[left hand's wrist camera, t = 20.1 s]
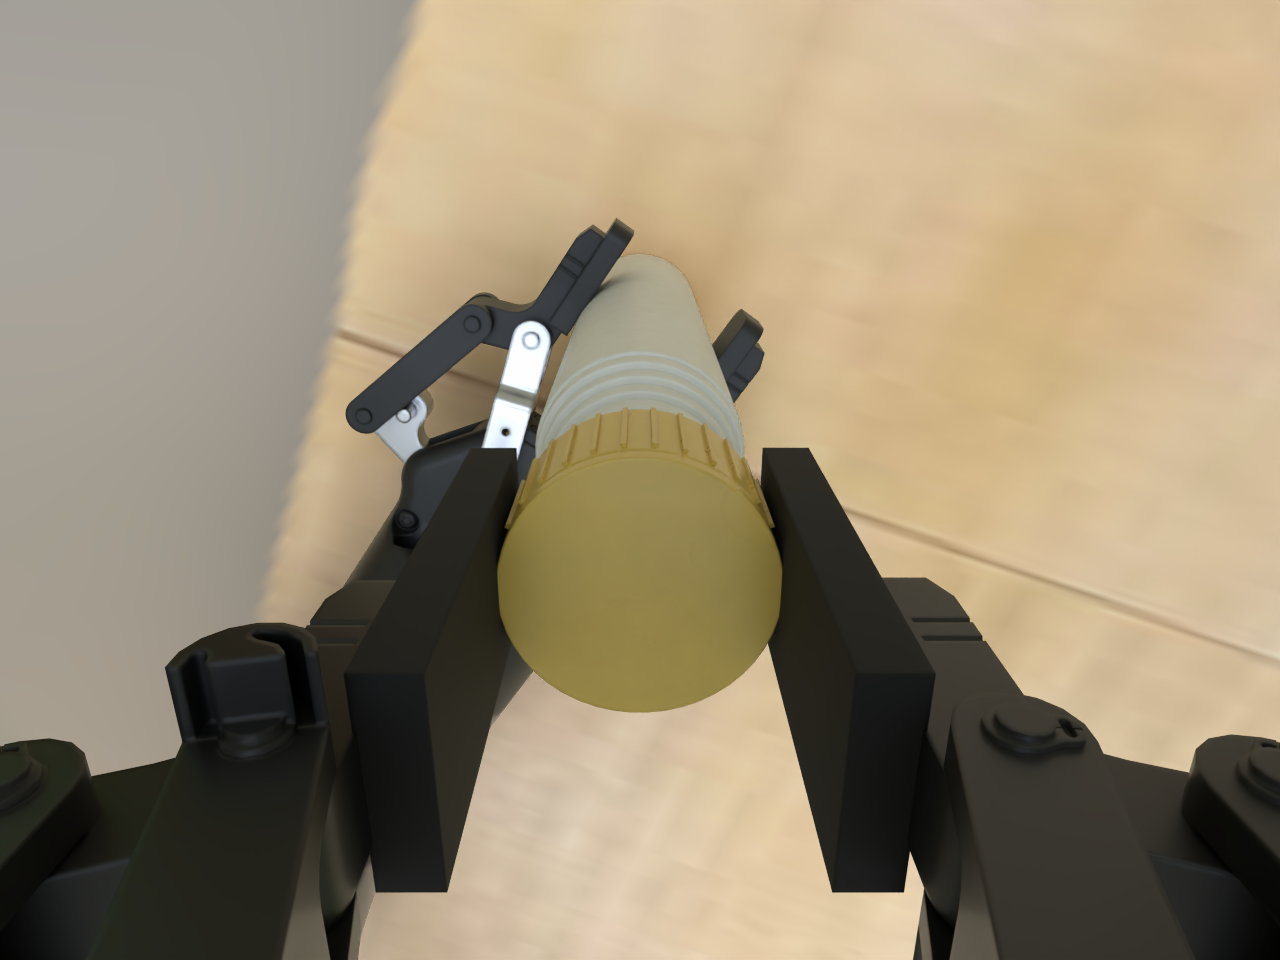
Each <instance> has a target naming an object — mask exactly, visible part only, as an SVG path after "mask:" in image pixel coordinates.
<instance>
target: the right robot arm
mask: <svg viewBox="0 0 1280 960" xmlns="http://www.w3.org/2000/svg"><path fill="white" fill-rule="evenodd" d="M633 235H634V230H632V229H631V228H629V227H628V226H627V225H625V224H624V223H623V222H621V221H620V220H618V219H617V218H616V219H615V221H614V222H613V224H612V225H611V227H610V228H609V230H608V231H607V233H606V234H605V233H604V232H603V231H601V230H600V229H598V228H597V227H596V226H594V225H592V226H590V227H589V228H587V229H586V230H585V231H583V232H582V233H580V234H579V235H578V237H577V238H576V239H575V241H574V243H573V244H572V246H571V247H570V249H569V250H568V252H567V253H566V255H565V257H564V258H563V260H562V261H561V263H560V264H559V266H558V267H557V269H556V270H555V272H554V274H553V275H552V277H551V278H550V280H549V281H548V283H547V284H546V286H545V287H544V289H543V291H542V292H541V294H540V295H539V297H538V298H537V299H536V300H534V301H533V302H531V303H529V304H524V305H518V304H513V303H509V302H505V301H502V300H499V299H498V298H497V297H496V296H494V295H492V294H490V293H479V294H476V295H475V296H473V297H472V298H471V299H470V300H469V301H468V302H466V303H465V304H464V305H463V306H462V307H461V308H459V309H458V310H457V311H456V312H455V313H454V314H452V315H451V316H450V317H449V318H448V319H447V320H445V321H444V322H443V323H442V324H441V325H440V326H438V327H437V328H436V329H435V330H434V331H433V332H431V333H430V334H429V335H428V336H427V337H426V338H424V339H423V340H422V341H421V342H420V343H419V344H418V345H416V346H415V347H414V348H413V349H412V350H411V351H409V352H408V353H407V354H406V355H405V356H404V357H402V358H401V359H400V360H399V361H398V362H397V363H395V364H394V365H393V366H392V367H391V368H390V369H388V370H387V371H386V372H385V373H384V374H383V375H381V376H380V377H379V378H378V379H377V380H376V381H374V382H373V383H372V384H371V385H370V386H369V387H368V388H366V389H365V390H364V391H363V392H362V393H361V394H359V395H358V396H357V397H356V398H355V399H354V400H353V401H351V402H350V403H349V405H348V406H347V409H346V419H347V421H348V423H349V425H350V426H351V427H352V428H353V429H354V430H356V431H358V432H360V433H366V434H367V433H373V432H375V433H376V434H377V435H378V436H379V438H380V439H381V440H382V441H383V442H384V443H385V444H386V445H387V446H388V447H389V448H390V449H391V450H392V451H393V452H394V453H395V454H396V455H397V456H398V457H399V458H400V459H401V460H402V461H403V463H404V467H403V470H402V477H401V479H402V489H401V495H400V498H399V501H398V503H397V504H396V506H395V507H394V509H393V510H392V512H391V514H390V515H389V517H388V518H387V520H386V521H385V523H384V524H383V526H382V528H381V529H380V531H379V532H378V534H377V535H376V537H375V538H374V540H373V542H372V543H371V545H370V546H369V548H368V549H367V551H366V552H365V554H364V556H363V557H362V559H361V560H360V562H359V563H358V565H357V566H356V568H355V570H354V571H353V573H352V574H351V576H350V577H349V579H348V580H347V582H346V583H345V585H344V587H345V586H346V585H348V584H349V583H351V582H352V581H354V580H397V578H398V576H399V574H400V573H401V571H402V569H403V567H404V566H405V564H406V562H407V560H408V559H409V557H410V555H411V553H412V551H413V550H414V548H415V546H416V544H417V543H418V541H419V539H420V537H421V536H422V534H423V532H424V530H425V528H426V527H427V525H428V523H429V521H430V520H431V518H432V516H433V514H434V513H435V511H436V509H437V507H438V505H439V504H440V502H441V500H442V498H443V497H444V495H445V493H446V491H447V490H448V488H449V486H450V484H451V482H452V481H453V479H454V477H455V475H456V474H457V472H458V470H459V468H460V467H461V465H462V463H463V461H464V459H465V458H466V456H467V454H468V452H469V451H470V449H471V448H517V464H518V482H519V486H520V483H521V480H525V481H526V478H527V475H528V472H529V469H530V466H531V463H532V461H533V459H534V458H536V451H535V444H536V435H537V430H538V426H539V422H540V418H541V415H539V414H538V413H536V412H535V409H536V405H537V402H538V398H539V395H540V391H541V387H542V384H543V380H544V375H545V371H546V368H547V364H548V361H549V357H550V354H551V350H552V346H553V344H554V343H555V341H556V340H557V338H558V337H559V335H560V334H561V333H563V334H564V335H566V336H567V335H568V333H569V332H570V330H571V329H572V327H573V326H574V324H575V323H576V321H577V320H578V318H579V316H580V315H581V313H582V311H583V310H584V309H585V307H586V306H587V305H588V303H589V302H590V300H591V299H592V297H593V296H594V294H595V293H596V291H597V290H598V288H599V287H600V285H601V284H602V282H603V281H604V279H605V278H606V276H607V275H608V273H609V272H610V270H611V269H612V267H613V266H614V264H615V263H616V261H617V260H618V258H619V257H620V255H621V254H622V252H623V251H624V249H625V248H626V246H627V245H628V243H629V242H630V240H631V239H632V237H633ZM762 333H763V327H762V326H761V324H760V323H759V321H757V320H756V319H755V318H753V317H752V316H750V315H749V314H748V313H746V312H745V311H744V310H742V309H741V310H739V311H738V312H737V313H736V314H735V315H734V316H733V318H732V319H731V320H730V322H729V323H728V324H727V326H726V327H725V328H724V330H723V331H722V333H721V334H720V335H719V337H718V338H717V339H716V341H715V342H714V343H713V345H712V346H713V349H714V352H715V355H716V357H717V360H718V363H719V365H720V368H721V371H722V373H723V376H724V379H725V382H726V384H727V387H728V390H729V392H730V395H731V398H732V400H733V403H734V402H735V401H736V400H737V398H738V397H739V396H740V394H741V393H742V392H743V390H744V389H745V388H746V387H747V385H748V383H749V382H750V381H751V380H752V379H753V377H754V376H755V375H756V373H757V372H758V371H759V370H760V367H761V363H762V360H763V356H764V351H763V350H762V348H761V347H760V345H759V344H758V343H757V342H758V340H759V339H760V337H761V335H762ZM480 343H484V344H488V345H492V346H496V347H500V348H504V349H508V350H509V351H508V355H507V359H506V362H505V366H504V370H503V374H502V378H501V381H500V385H499V388H498V390H497V393H496V396H495V399H494V403H493V407H492V411H491V414H490V418H489V419H486V420H483V421H480V422H477V423H474V424H472V425H469V426H466V427H463V428H460V429H457V430H454V431H451V432H448V433H445V434H442V435H439V436H436V437H433V438H430V439H429V438H428V437H427V435H426V433H425V430H424V422H425V419H426V418H427V417H428V415H429V414H430V413H431V411H432V409H433V399H432V396H431V395H430V393H429V392H428V391H427V390H426V389H427V388H428V387H429V386H430V385H431V384H433V383H434V382H435V381H436V380H437V379H438V378H440V377H441V376H442V375H443V374H444V373H446V372H447V371H448V370H449V369H450V368H452V367H453V366H454V365H455V364H456V363H458V362H459V361H460V360H461V359H462V358H463V357H465V356H466V355H467V354H468V353H469V352H471V351H472V350H473V349H474V348H475V347H477V346H478V345H479V344H480ZM532 672H533V670H532V669H531V667H530V666H529V665H528V664H527V663H526V662H525V661H524V660H523V658H522V657H521V656H520V654H519V653H518V652H517V650H516V649H515V647H514V646H513V644H511V647H510V651H509V655H508V659H507V663H506V667H505V671H504V674H503V678H502V682H501V686H500V690H499V694H498V698H497V701H496V705H495V709H494V713H493V717H492V721H491V725H490V727H491V726H492V724H493V723H494V722H495V720H496V719H497V718H498V716H499V715H500V714H501V712H502V711H503V710H504V708H505V707H506V706H507V704H508V703H509V702H510V701H511V699H512V698H513V697H514V695H515V694H516V693H517V691H518V690H519V689H520V688H521V686H522V685H523V684H524V682H525V681H526V680H527V678H528V677H529V676H530V675H531V673H532ZM356 894H357V900H358V906H359V913H360V920H361V933H362V930H363V927H364V924H365V921H366V918H367V915H368V912H369V909H370V906H371V903H372V900H373V897H374V894H375V885H374V878H373V871H372V864H371V858H370V855H369V857H368V860H367V863H366V865H365V868H364V870H363V873H362V876H361V878H360V881H359V883H358V886H357V889H356ZM360 937H361V936H360Z"/></svg>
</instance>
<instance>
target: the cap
mask: <svg viewBox="0 0 1280 960" xmlns="http://www.w3.org/2000/svg"><path fill="white" fill-rule="evenodd" d="M773 527H775V525H774V523H773V520H772V517H771V514H770V512H769V509H768V506H767V503H766V500H765V498H764V495H763V492H762V489H761V486H760V484H759V481H758V479H755V480H754V479H753V477H752V474H751V471H750V468H749V465H748V462H747V460H746V458H745V457H743V458H742V459H741V457H740V456H739V455H738V453H737V452H736V451H735V450H734V449H733V448H732V447H731V444H730V441H729V440H728V439H727V438H725V439H722V438H721V437H720V436H718V435H717V434H716V433H714V432H713V431H712V430H710V429H709V427H708V425H707V424H705V423H703V425H701V424H700V423H698V422H695V421H693V420H690V419H688V418H686V417H683V414H682V413H679V412H678V414H677V415H676V414H673V413H669V412H663V411H656V408H653V407H651V410H636V409H632V410H628V407H627V408H623V411H616V412H612V413H608V414H604V415H601V413H597V414H596V416H595V417H594V418H592V419H589V420H587V421H584V422H582V423H580V424H579V425H576V424H575V423H574V424H573V425H571V427H570V429H569V430H568V431H567V432H565V433H564V434H563V435H561V436H560V437H559V438H557V439H556V440H554V439H552V440H550V441H549V444H548V448H547V449H546V450H545V451H544V452H543V453H542V455H541V456H540V457H539V458H538V459H537V458H534V459H533V461H532V463H531V466H530V469H529V472H528V475H527V478H526V481H525V480H521V483H520V486H519V488H518V491H517V494H516V497H515V499H514V502H513V505H512V508H511V511H510V513H509V516H508V519H507V522H506V524H505V528H506V529H508V531H507V534H506V537H505V540H504V543H503V545H502V548H501V552H500V556H499V560H498V565H497V577H498V593H499V607H500V617H501V619H502V622H503V625H504V628H505V630H506V633H507V634H508V636H509V638H510V640H511V642H512V644H513V646H514V647H515V649H516V650H517V652H518V653H519V654H520V656H521V657H522V658H523V660H524V661H525V662H526V663H527V664H528V665H529V666H530V667H531V669H532V670H533V671H534V672H535V673H536V674H538V675H539V676H540V677H541V678H542V679H544V680H545V681H546V682H547V683H548V684H550V685H552V686H553V687H555V688H556V689H558V690H559V691H561V692H562V693H564V694H566V695H568V696H571V697H573V698H575V699H577V700H579V701H582V702H584V703H587V704H590V705H593V706H596V707H600V708H605V709H609V710H615V711H623V712H657V711H666V710H670V709H675V708H680V707H684V706H687V705H690V704H692V703H695V702H698V701H701V700H703V699H705V698H707V697H709V696H711V695H714V694H715V693H717V692H719V691H720V690H722V689H723V688H725V687H727V686H728V685H730V684H731V683H732V682H734V681H735V680H736V679H737V678H739V677H740V676H741V675H742V674H743V673H744V672H745V671H746V670H747V669H748V668H749V667H750V666H751V665H752V664H753V663H754V662H755V661H756V659H757V658H758V657H759V655H760V654H761V653H762V651H763V650H764V649H765V647H766V645H767V643H768V641H769V640H770V638H771V636H772V634H773V632H774V629H775V627H776V624H777V622H778V619H779V613H780V600H781V585H782V562H781V557H780V553H779V549H778V546H777V544H776V541H775V538H774V535H773V532H772V529H771V528H773Z"/></svg>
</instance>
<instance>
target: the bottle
mask: <svg viewBox="0 0 1280 960" xmlns="http://www.w3.org/2000/svg"><path fill="white" fill-rule="evenodd" d="M627 407H628V410H632V409H636V410H651V407H653V408H656V411H663V412H669V413H673V414H676V415H677V414H678V412H679V413H682V414H683V417H686V418H688V419H690V420H693V421H695V422H698V423H700V424H701V425H703V423H705V424H707V425H708V427H709V429H710V430H712V431H713V432H714V433H716V434H717V435H718V436H720V437H721V438H722V439H725V438H727V439H728V440H729V441H730V444H731V447H732V448H733V449H734V450H735V451H736V452H737V453H738V455H739V456H740V457H741V459H742V458H743V457H744V450H745V449H744V436H743V431H742V426H741V422H740V420H739V417H738V414H737V411H736V409H735V406H734V403H733V400H732V398H731V395H730V392H729V390H728V387H727V384H726V382H725V379H724V376H723V373H722V371H721V368H720V365H719V363H718V360H717V357H716V355H715V352H714V349H713V346H712V344H711V341H710V338H709V336H708V333H707V330H706V328H705V325H704V322H703V319H702V317H701V314H700V311H699V309H698V306H697V303H696V301H695V298H694V295H693V292H692V290H691V287H690V285H689V283H688V281H687V280H686V278H685V277H684V275H683V274H682V273H681V272H680V271H679V270H678V269H677V268H676V267H675V266H674V265H672V264H671V263H669V262H668V261H666V260H664V259H662V258H660V257H656V256H653V255H648V254H632V255H627V256H623V257H621V258H618V260H617V261H616V263H615V264H614V266H613V267H612V269H611V270H610V272H609V273H608V275H607V276H606V278H605V279H604V281H603V282H602V284H601V285H600V287H599V288H598V290H597V291H596V293H595V294H594V296H593V297H592V299H591V300H590V302H589V303H588V305H587V306H586V307H585V309H584V310H583V311H582V313H581V315H580V316H579V318H578V320H577V322H576V324H575V327H574V330H573V332H572V335H571V338H570V340H569V343H568V346H567V348H566V351H565V354H564V357H563V359H562V362H561V365H560V367H559V370H558V373H557V375H556V378H555V381H554V383H553V386H552V389H551V392H550V394H549V397H548V400H547V402H546V405H545V408H544V410H543V413H542V416H541V418H540V422H539V426H538V430H537V435H536V444H535V451H536V458H537V459H538V458H539V457H540V456H541V455H542V453H543V452H544V451H545V450H546V449H547V448H548V444H549V441H550V440H552V439H554V440H556V439H557V438H559V437H560V436H561V435H563V434H564V433H565V432H567V431H568V430H569V429H570V427H571V425H573V424H574V423H575V424H576V425H579V424H580V423H582V422H584V421H587V420H589V419H592V418H594V417H595V416H596V414H597V413H601V415H604V414H608V413H612V412H616V411H623V408H627Z"/></svg>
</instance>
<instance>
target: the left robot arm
mask: <svg viewBox="0 0 1280 960" xmlns="http://www.w3.org/2000/svg"><path fill="white" fill-rule="evenodd" d="M518 488H519V482H518V464H517V448H471V449H470V451H469V452H468V454H467V456H466V458H465V459H464V461H463V463H462V465H461V467H460V468H459V470H458V472H457V474H456V475H455V477H454V479H453V481H452V482H451V484H450V486H449V488H448V490H447V491H446V493H445V495H444V497H443V498H442V500H441V502H440V504H439V505H438V507H437V509H436V511H435V513H434V514H433V516H432V518H431V520H430V521H429V523H428V525H427V527H426V528H425V530H424V532H423V534H422V536H421V537H420V539H419V541H418V543H417V544H416V546H415V548H414V550H413V551H412V553H411V555H410V557H409V559H408V560H407V562H406V564H405V566H404V567H403V569H402V571H401V573H400V574H399V576H398V578H397V580H354V581H352V582H351V583H349V584H348V585H346V586H345V587H343V588H342V589H340V590H339V591H337V592H336V593H334V594H333V595H331V596H330V597H328V598H327V599H325V601H324V602H323V604H322V605H321V606H320V608H319V609H318V611H317V612H316V614H315V615H314V616H313V618H312V619H311V621H310V625H307V626H306V628H302V627H298V626H294V625H290V624H286V623H254V624H249V625H244V626H238V627H233V628H228V629H226V630H223V631H220V632H217V633H215V634H212V635H209V636H207V637H204V638H201V639H199V640H198V641H196V642H194V643H193V644H191V645H190V646H188V647H186V648H185V649H183V650H181V651H180V652H178V654H177V655H176V656H175V657H174V658H173V659H172V660H171V661H170V662H169V664H168V665H167V666H166V667H165V670H166V674H167V679H168V683H169V687H170V691H171V695H172V700H173V704H174V708H175V713H176V717H177V721H178V725H179V730H180V734H181V738H182V745H181V747H180V749H179V751H178V754H177V756H176V758H173V759H169V760H165V761H161V762H158V763H154V764H150V765H145V766H140V767H135V768H130V769H125V770H120V771H115V772H111V773H106V774H101V775H96V776H91V774H90V771H89V767H88V764H87V760H86V757H85V753H84V752H83V751H82V750H80V749H79V748H78V747H77V746H75V745H74V744H73V743H72V742H66V741H60V740H55V739H39V740H29V741H19V742H14V743H9V744H5V745H4V746H1V747H0V960H358V954H359V945H360V936H361V920H360V913H359V906H358V900H357V894H356V889H357V886H358V883H359V881H360V878H361V876H362V873H363V870H364V868H365V865H366V863H367V860H368V857H369V855H370V858H371V864H372V871H373V878H374V885H375V892H447V891H448V887H449V883H450V879H451V875H452V871H453V867H454V864H455V860H456V856H457V852H458V848H459V844H460V840H461V837H462V833H463V829H464V825H465V821H466V817H467V813H468V810H469V806H470V802H471V798H472V794H473V790H474V786H475V783H476V779H477V775H478V771H479V767H480V763H481V759H482V755H483V752H484V748H485V744H486V740H487V736H488V732H489V728H490V725H491V721H492V717H493V713H494V709H495V705H496V701H497V698H498V694H499V690H500V686H501V682H502V678H503V674H504V671H505V667H506V663H507V659H508V655H509V651H510V647H511V644H512V642H511V640H510V638H509V636H508V634H507V633H506V630H505V628H504V625H503V622H502V619H501V617H500V607H499V593H498V577H497V565H498V560H499V556H500V552H501V548H502V545H503V543H504V540H505V537H506V534H507V531H508V529H506V528H505V524H506V522H507V519H508V516H509V513H510V511H511V508H512V505H513V502H514V499H515V497H516V494H517V491H518ZM761 489H762V492H763V495H764V498H765V500H766V503H767V506H768V509H769V512H770V514H771V517H772V520H773V523H774V525H775V527H773V528H771V529H772V532H773V535H774V538H775V541H776V544H777V546H778V549H779V553H780V557H781V562H782V585H781V600H780V613H779V619H778V622H777V624H776V627H775V629H774V632H773V634H772V636H771V638H770V640H769V641H768V646H769V649H770V653H771V657H772V661H773V665H774V669H775V673H776V676H777V680H778V684H779V688H780V692H781V696H782V700H783V704H784V707H785V711H786V715H787V719H788V723H789V727H790V731H791V734H792V738H793V742H794V746H795V750H796V754H797V758H798V761H799V765H800V769H801V773H802V777H803V781H804V785H805V788H806V792H807V796H808V800H809V804H810V808H811V812H812V816H813V819H814V823H815V827H816V831H817V835H818V839H819V843H820V846H821V850H822V854H823V858H824V862H825V866H826V870H827V873H828V877H829V881H830V885H831V889H832V892H904V888H905V881H906V874H907V867H908V861H909V854H910V852H911V855H912V857H913V860H914V862H915V865H916V868H917V870H918V873H919V875H920V878H921V881H922V883H923V886H924V894H923V900H922V906H921V913H920V919H919V925H918V932H917V938H916V944H915V951H914V957H913V960H1280V743H1279V742H1276V740H1271V739H1266V738H1261V737H1251V736H1241V735H1226V736H1220V737H1215V738H1209V739H1207V740H1206V741H1205V742H1204V743H1203V744H1201V745H1200V746H1199V747H1198V748H1197V749H1196V751H1195V754H1194V758H1193V761H1192V765H1191V768H1190V772H1189V773H1188V772H1183V771H1178V770H1173V769H1168V768H1163V767H1158V766H1154V765H1149V764H1144V763H1139V762H1134V761H1129V760H1125V759H1121V758H1117V757H1114V756H1110V755H1106V754H1103V752H1102V750H1101V748H1100V745H1099V743H1098V741H1097V740H1096V738H1095V737H1094V736H1093V734H1092V733H1091V732H1090V731H1089V729H1088V728H1087V727H1086V725H1085V724H1084V723H1082V722H1081V721H1079V720H1078V719H1077V718H1075V717H1074V716H1072V715H1071V714H1070V713H1068V712H1067V711H1065V710H1064V709H1062V708H1060V707H1057V706H1055V705H1052V704H1050V703H1048V702H1045V701H1043V700H1041V699H1038V698H1035V697H1030V696H1025V695H1023V693H1022V692H1021V690H1020V689H1019V688H1018V686H1017V685H1016V683H1015V682H1014V680H1013V679H1012V678H1011V676H1010V675H1009V673H1008V672H1007V670H1006V669H1005V668H1004V666H1003V665H1002V663H1001V662H1000V661H999V659H998V658H997V656H996V655H995V653H994V652H993V651H992V649H991V648H990V646H989V645H988V643H987V642H986V641H983V640H982V635H981V634H980V632H979V631H978V629H977V628H976V626H975V625H974V624H973V622H970V618H969V616H968V615H967V614H966V612H965V611H964V609H963V608H962V607H961V605H960V604H959V602H958V601H957V599H956V598H955V597H954V596H953V595H951V594H950V593H948V592H947V591H945V590H944V589H942V588H941V587H939V586H938V585H936V584H935V583H933V582H932V581H930V580H929V579H927V578H882V577H881V575H880V574H879V572H878V570H877V568H876V567H875V565H874V563H873V561H872V560H871V558H870V556H869V554H868V552H867V551H866V549H865V547H864V545H863V544H862V542H861V540H860V538H859V537H858V535H857V533H856V531H855V529H854V528H853V526H852V524H851V522H850V521H849V519H848V517H847V515H846V514H845V512H844V510H843V508H842V506H841V505H840V503H839V501H838V499H837V498H836V496H835V494H834V492H833V491H832V489H831V487H830V485H829V483H828V482H827V480H826V478H825V476H824V475H823V473H822V471H821V469H820V468H819V466H818V464H817V462H816V460H815V459H814V457H813V455H812V453H811V452H810V450H809V448H763V454H762V472H761Z"/></svg>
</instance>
